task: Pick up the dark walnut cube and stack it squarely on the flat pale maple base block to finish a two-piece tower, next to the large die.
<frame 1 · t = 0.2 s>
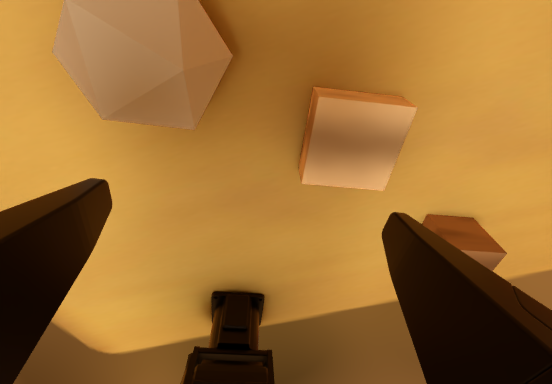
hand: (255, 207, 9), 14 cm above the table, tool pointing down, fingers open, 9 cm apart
walnut cube: (439, 233, 30), on the table
die: (168, 45, 19), on the table
maple base: (345, 133, 23), on the table
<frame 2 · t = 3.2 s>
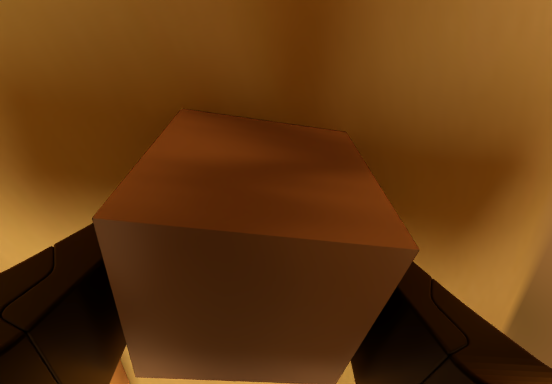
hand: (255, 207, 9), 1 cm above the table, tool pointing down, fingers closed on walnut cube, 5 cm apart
walnut cube: (256, 189, 10), on the table, touching gripper
when the fingers open (5 cm above the table, at t = 7.9 s): walnut cube drops 1 cm, resting on maple base.
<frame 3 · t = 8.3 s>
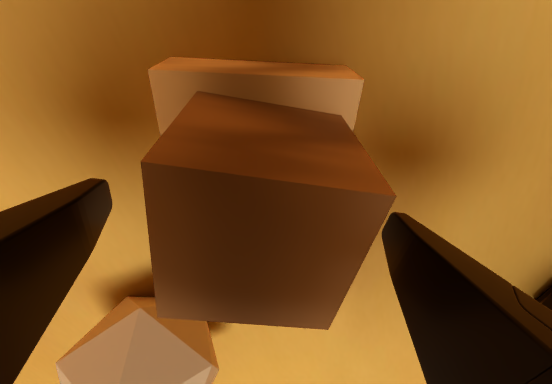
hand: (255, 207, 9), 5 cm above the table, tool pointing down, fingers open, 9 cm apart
walnut cube: (261, 166, 11), point 2 cm above the table, touching maple base
die: (167, 307, 20), on the table
maple base: (258, 138, 13), on the table, touching walnut cube
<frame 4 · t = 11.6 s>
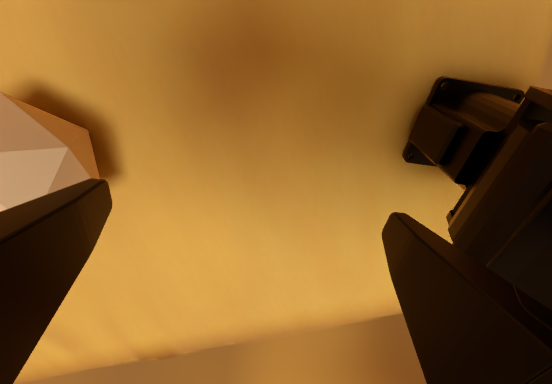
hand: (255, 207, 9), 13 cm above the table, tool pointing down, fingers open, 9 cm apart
die: (60, 144, 21), on the table
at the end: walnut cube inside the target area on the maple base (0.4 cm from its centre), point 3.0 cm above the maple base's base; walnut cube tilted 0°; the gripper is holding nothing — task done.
